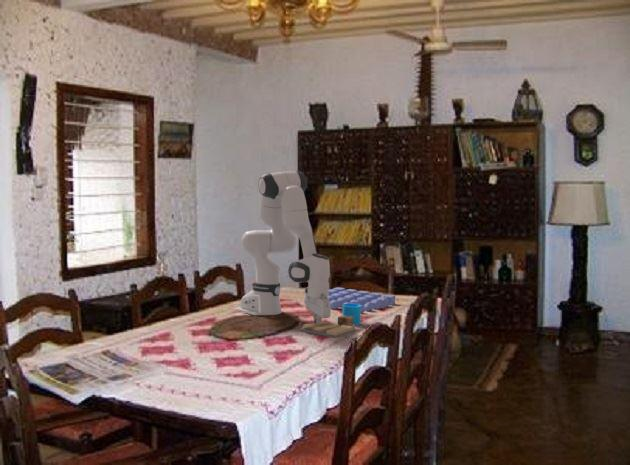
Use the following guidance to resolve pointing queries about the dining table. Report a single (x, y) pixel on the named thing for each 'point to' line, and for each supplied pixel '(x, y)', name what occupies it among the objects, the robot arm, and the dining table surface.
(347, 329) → the underlay
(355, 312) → the mug
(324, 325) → the tan flat slab
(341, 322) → the block
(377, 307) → the blue flat bumpy slab
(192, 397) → the dining table surface
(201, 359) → the dining table surface
